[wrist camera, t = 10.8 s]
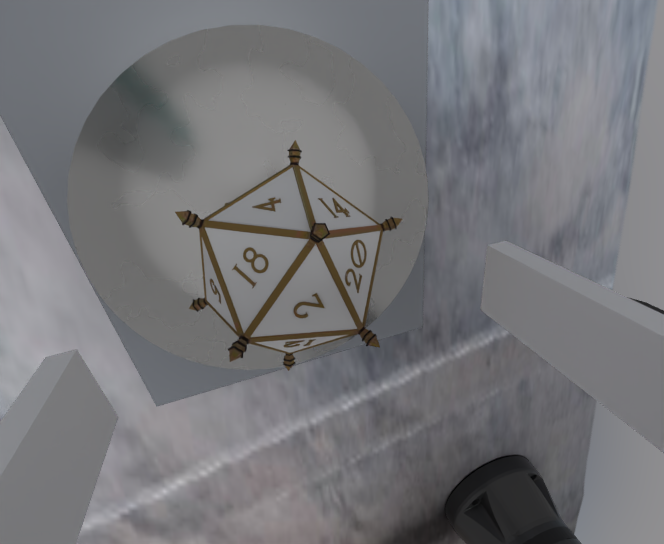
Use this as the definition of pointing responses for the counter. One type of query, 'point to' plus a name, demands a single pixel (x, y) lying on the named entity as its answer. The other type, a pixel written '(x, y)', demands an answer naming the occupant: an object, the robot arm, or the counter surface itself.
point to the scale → (145, 36)
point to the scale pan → (232, 172)
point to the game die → (289, 264)
